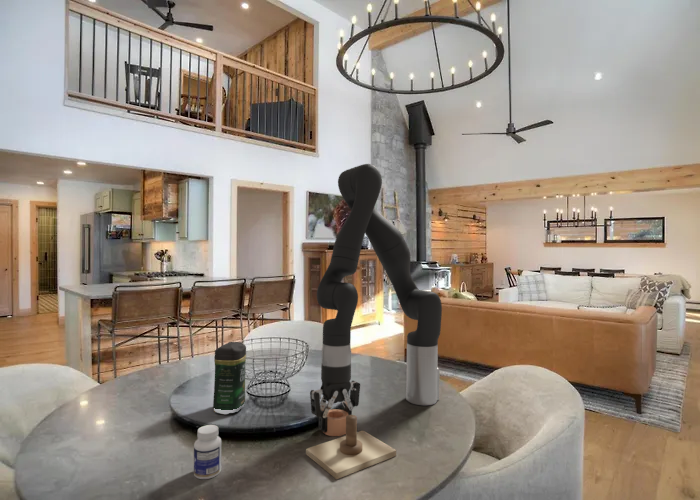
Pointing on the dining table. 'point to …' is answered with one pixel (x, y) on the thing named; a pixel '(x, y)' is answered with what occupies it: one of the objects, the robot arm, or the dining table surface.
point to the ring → (336, 422)
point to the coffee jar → (229, 376)
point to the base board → (348, 464)
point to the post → (351, 438)
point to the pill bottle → (207, 452)
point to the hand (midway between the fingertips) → (335, 427)
